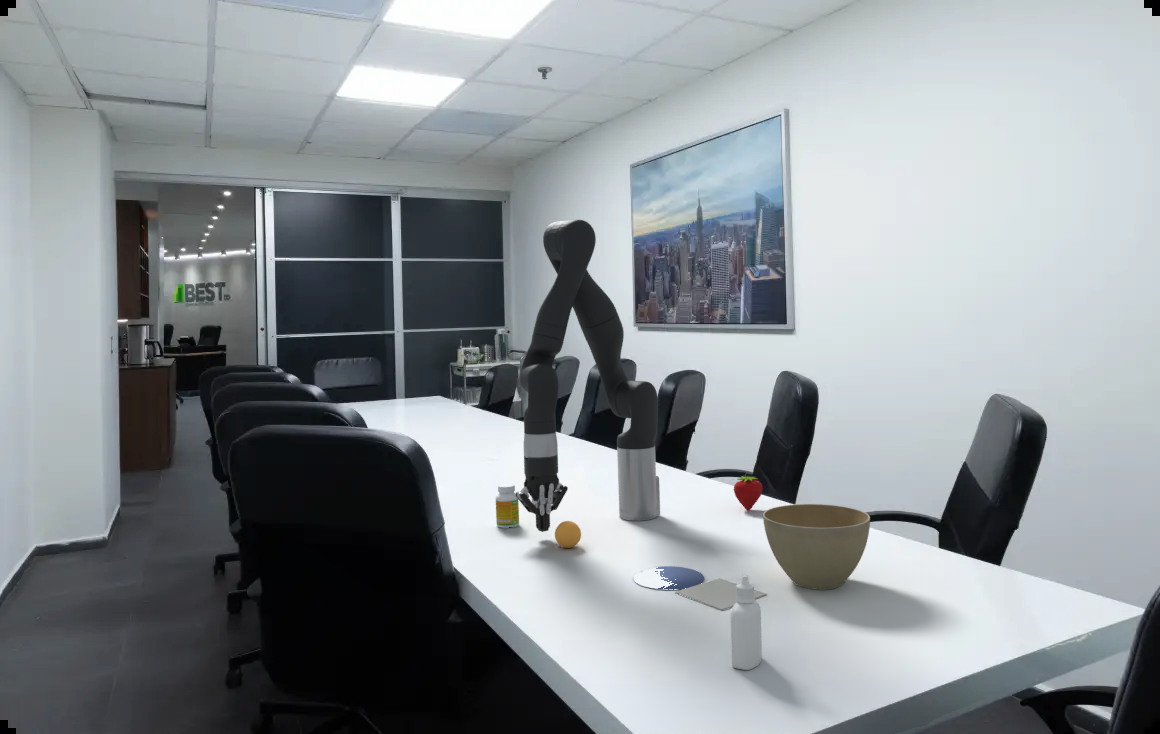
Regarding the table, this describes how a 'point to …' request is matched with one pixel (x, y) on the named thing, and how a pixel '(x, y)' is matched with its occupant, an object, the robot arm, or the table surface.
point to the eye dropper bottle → (746, 628)
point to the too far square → (715, 593)
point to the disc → (680, 577)
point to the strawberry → (748, 491)
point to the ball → (567, 534)
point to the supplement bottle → (507, 506)
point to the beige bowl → (817, 542)
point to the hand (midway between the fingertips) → (543, 530)
